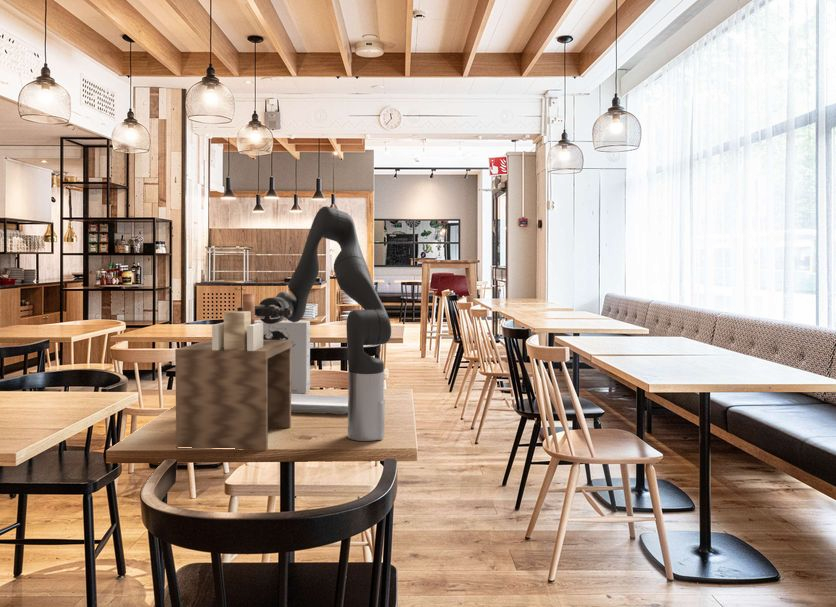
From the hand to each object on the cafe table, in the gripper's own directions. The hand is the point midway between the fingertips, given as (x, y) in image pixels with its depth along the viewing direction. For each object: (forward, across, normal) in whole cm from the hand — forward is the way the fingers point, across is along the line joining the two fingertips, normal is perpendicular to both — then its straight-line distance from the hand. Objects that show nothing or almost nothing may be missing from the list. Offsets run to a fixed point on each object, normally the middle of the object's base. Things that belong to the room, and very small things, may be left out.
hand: (257, 313), depth 174 cm
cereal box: (-54, -10, +32) cm, 63 cm away
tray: (-28, +8, +32) cm, 43 cm away
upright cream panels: (+15, 0, +8) cm, 17 cm away
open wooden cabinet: (+7, -3, +32) cm, 32 cm away
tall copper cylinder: (+12, 0, +7) cm, 14 cm away
